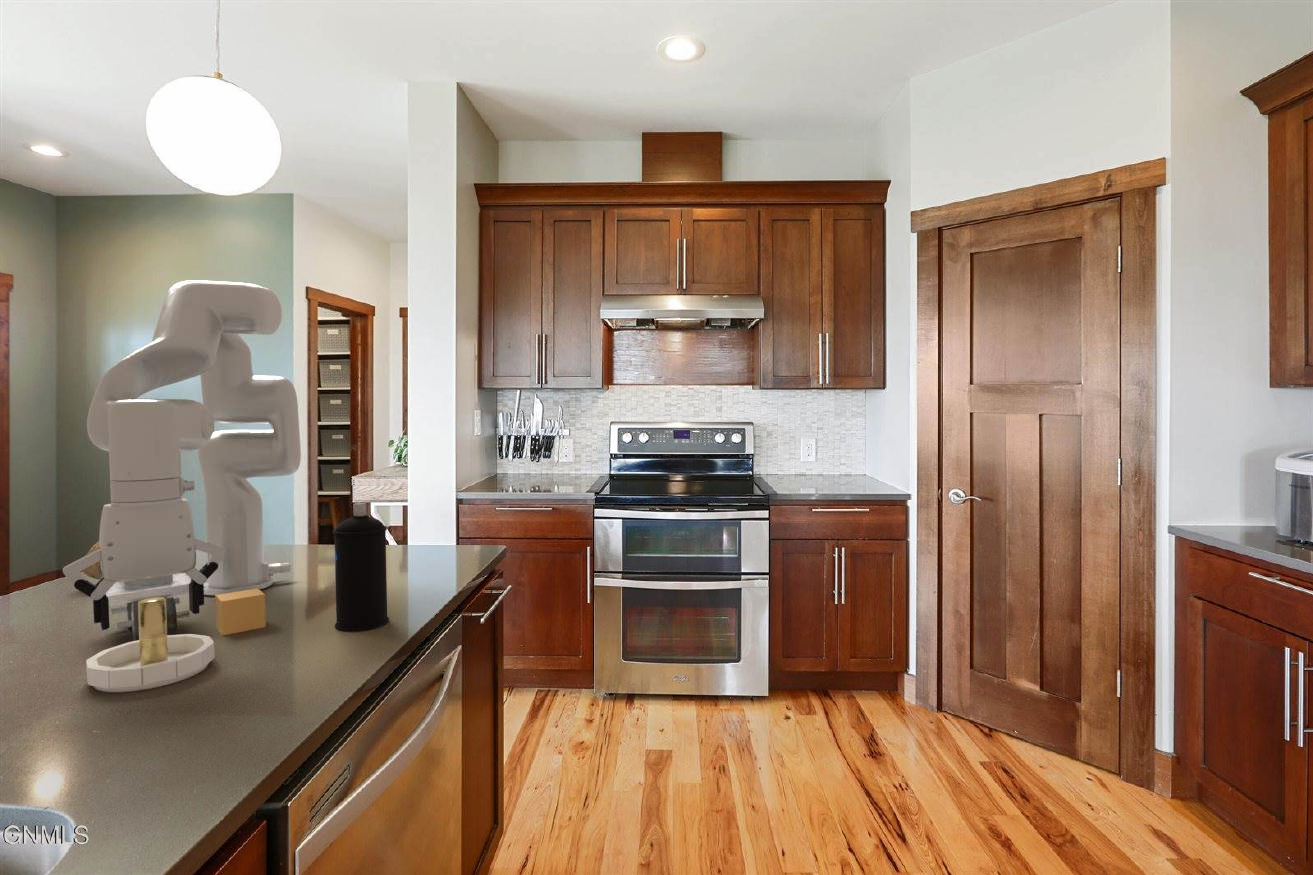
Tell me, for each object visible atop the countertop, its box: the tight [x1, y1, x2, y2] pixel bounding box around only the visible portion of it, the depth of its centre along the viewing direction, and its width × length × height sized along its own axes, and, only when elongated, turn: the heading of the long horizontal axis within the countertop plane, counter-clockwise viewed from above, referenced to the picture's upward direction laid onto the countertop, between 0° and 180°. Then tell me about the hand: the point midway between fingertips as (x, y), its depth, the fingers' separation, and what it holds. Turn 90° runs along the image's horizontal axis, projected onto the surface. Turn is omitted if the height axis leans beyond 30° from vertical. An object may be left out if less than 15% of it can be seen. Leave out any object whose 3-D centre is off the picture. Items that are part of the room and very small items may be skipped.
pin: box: [138, 597, 168, 666], centre depth 90 cm, size 3×3×9 cm
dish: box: [85, 633, 215, 693], centre depth 90 cm, size 13×13×3 cm
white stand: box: [106, 573, 191, 641], centre depth 107 cm, size 11×16×10 cm
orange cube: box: [214, 588, 267, 636], centre depth 109 cm, size 6×5×6 cm
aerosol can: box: [332, 502, 390, 632], centre depth 110 cm, size 8×8×20 cm
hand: (151, 619), depth 89 cm, fingers open, 9 cm apart
